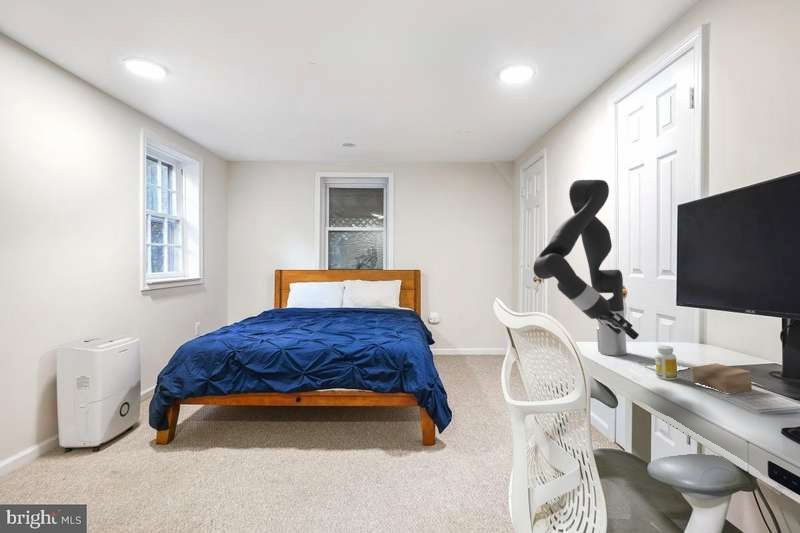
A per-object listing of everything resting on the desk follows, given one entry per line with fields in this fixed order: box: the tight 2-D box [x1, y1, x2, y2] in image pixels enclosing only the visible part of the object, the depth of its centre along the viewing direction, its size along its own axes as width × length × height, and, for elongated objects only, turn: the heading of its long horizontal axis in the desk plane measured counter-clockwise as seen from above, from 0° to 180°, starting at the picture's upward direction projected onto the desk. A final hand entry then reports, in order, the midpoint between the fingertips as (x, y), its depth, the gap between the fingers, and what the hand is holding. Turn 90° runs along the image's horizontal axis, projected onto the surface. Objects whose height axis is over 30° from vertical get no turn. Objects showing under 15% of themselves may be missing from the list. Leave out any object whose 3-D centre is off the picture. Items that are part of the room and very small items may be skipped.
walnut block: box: [692, 362, 753, 394], centre depth 105 cm, size 9×9×5 cm
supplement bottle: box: [654, 345, 678, 381], centre depth 115 cm, size 5×5×10 cm
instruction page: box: [645, 365, 656, 371], centre depth 124 cm, size 8×10×1 cm
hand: (627, 334), depth 115 cm, fingers open, 8 cm apart
